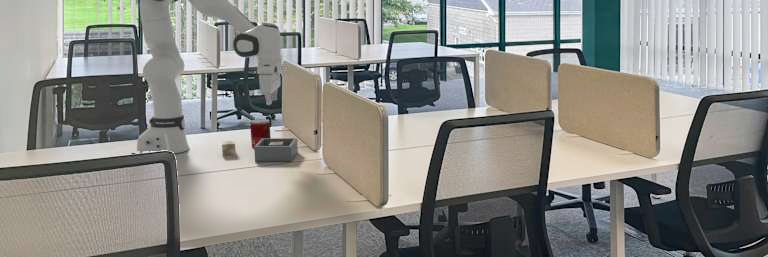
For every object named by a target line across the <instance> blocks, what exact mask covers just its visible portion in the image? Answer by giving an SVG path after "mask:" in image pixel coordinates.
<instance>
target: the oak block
mask: <svg viewBox="0 0 768 257" xmlns="http://www.w3.org/2000/svg"><path fill="white" fill-rule="evenodd" d="M221 149H222V157H225V158H226V157H236V156H237V152H236V140H225V141H221Z"/></svg>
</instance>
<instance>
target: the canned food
mask: <svg viewBox="0 0 768 257" xmlns="http://www.w3.org/2000/svg"><path fill="white" fill-rule="evenodd" d="M262 138H271V123H270V119H267V118H254V119H251V120H250V142H251V147H252V148H253V149H254V146H255V145H256V144H257V143H258V142H259V141H260V140H261V139H262Z"/></svg>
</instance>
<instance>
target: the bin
mask: <svg viewBox="0 0 768 257" xmlns="http://www.w3.org/2000/svg"><path fill="white" fill-rule="evenodd" d="M271 142H284V146H268V145H269V144H270V143H271ZM253 149H254V162H255V163H293V161H294V159H295V158H296V157H297V155H298V153H299V147H298V137H286V138H285V137H283V138H282V137H274V138H273V137H272V138H262V139H261V140H260V141H259V142H258V143H257V144H256V145H255V146H254V148H253Z"/></svg>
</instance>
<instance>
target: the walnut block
mask: <svg viewBox="0 0 768 257" xmlns="http://www.w3.org/2000/svg"><path fill="white" fill-rule="evenodd" d="M268 146H284V142H271V143H270V144H269V145H268Z"/></svg>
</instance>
